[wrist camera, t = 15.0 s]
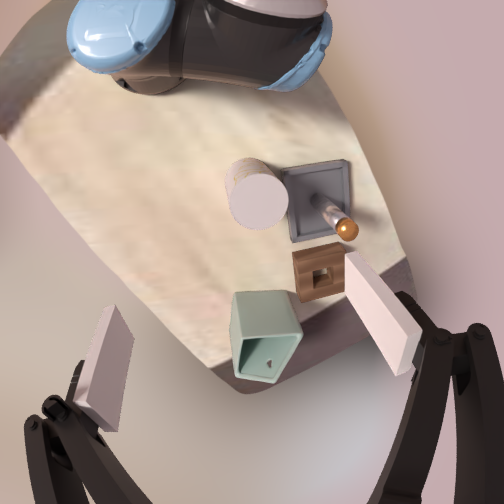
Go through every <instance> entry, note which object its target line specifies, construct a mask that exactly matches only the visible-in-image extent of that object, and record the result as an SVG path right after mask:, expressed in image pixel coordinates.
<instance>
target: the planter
mask: <svg viewBox="0 0 504 504" xmlns="http://www.w3.org/2000/svg"><path fill="white" fill-rule="evenodd" d="M229 333H230V341H231V349H232V358H233V366H234V373H235V376H236V377H237V378H243V379H249V380H256V381H263V382H268V383H275V382H276V381H277V380H278V378H279V376H280V375H281V373H282V371H283V369H284V368H285V366H286V364H287V363H288V361H289V360H290V358H291V356H292V355H293V353H294V351H295V349H296V348H297V346H298V344H299V342H300V341H301V339H302V337H303V331H302V328H301V325H300V323H299V320H298V318H297V315H296V313H295V310H294V308H293V305H292V303H291V300H290V298H289V295H288V293H287V291H286V290H274V291H246V292H235V293H234V296H233V301H232V307H231V319H230V327H229ZM269 360H272V367H271V368H270V367H269V365H267V363H268V361H269Z"/></svg>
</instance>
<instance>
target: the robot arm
mask: <svg viewBox="0 0 504 504" xmlns="http://www.w3.org/2000/svg"><path fill="white" fill-rule="evenodd" d="M327 6H328V4H327V0H80V1H79V2H78V4H77V5H76V7H75V9H74V10H73V12H72V15H71V17H70V20H69V23H68V27H67V44H68V48H69V51H70V53H71V55H72V56H73V57H74V59H75V60H76V61H77V62H78V63H79V64H81V65H82V66H84V67H86V68H88V69H89V70H91V71H93V72H94V73H99V74H109V75H111V76H112V78H113V79H114V80H115V82H116V83H117V84H119V85H120V86H121V87H122V88H124V89H126V90H128V91H130V92H133V93H138V94H146V95H150V94H158V93H162V92H165V91H168V90H170V89H172V88H174V87H176V86H177V85H179V84H180V83H182V82H183V81H184V80H185V79H186V78H190V79H199V80H207V81H214V82H221V83H228V84H234V85H240V86H245V87H251V88H254V89H258V90H266V89H267V90H274V91H280V92H289V91H293V90H295V89H298V88H299V87H301V86H302V85H304V84H305V83H306V82H307V81H308V80H309V79H310V78H311V77H312V75H313V74H314V73H315V71H316V70H317V69H318V67H319V66H320V64H321V62H322V60H323V58H324V56H325V53H324V50H325V49H326V47H327V46H328V45H329V43H330V40H331V36H332V20H331V17H330V15H329V14H328V13H327V12H326V8H327ZM345 294H346V296H347V297H348V299H349V300H350V302H351V304H352V305H353V307H354V308H355V310H356V311H357V313H358V315H359V316H360V318H361V319H362V321H363V323H364V324H365V326H366V328H367V329H368V331H369V332H370V334H371V336H372V337H373V339H374V340H375V342H376V344H377V346H378V347H379V349H380V351H381V352H382V354H383V356H384V357H385V359H386V361H387V362H388V364H389V366H390V368H391V369H392V371H393V373H394V374H395V376H398V375H400V374H402V373H405V372H407V371H409V370H410V367H411V364H412V363H413V365H414V366H415V368H416V370H415V373H414V375H413V377H412V380H411V381H412V385H411V389H410V393H409V396H408V400H407V403H406V406H405V410H404V414H403V416H402V420H401V423H400V426H399V429H398V432H397V434H396V438H395V440H394V443H393V446H392V449H391V451H390V454H389V456H388V459H387V461H386V464H385V466H384V468H383V471H382V473H381V476H380V478H379V480H378V482H377V484H376V487H375V489H374V491H373V493H372V495H371V497H370V499H369V501H368V503H367V504H421V501H422V499H421V493H422V490H423V487H424V484H425V482H426V479H427V476H428V473H429V470H430V467H431V464H432V460H433V457H434V453H435V450H436V446H437V442H438V439H439V435H440V430H441V426H442V422H443V417H444V413H445V407H446V402H447V396H448V390H449V384H450V377H451V376H452V381H453V389H454V400H455V411H456V412H455V413H456V433H457V463H456V483H455V496H454V504H504V380H503V376H502V371H501V367H500V363H499V359H498V355H497V352H496V348H495V345H494V341H493V338H492V335H491V332H490V330H489V329H488V327H486V326H485V325H483V324H481V323H474V324H472V325H470V326H469V328H468V330H467V332H464V333H457V334H451V333H450V332H449V331H448V330H446V329H442V328H437V327H436V326H435V324H434V323H433V322H432V320H431V319H430V318H429V317H428V316H427V314H426V313H425V312H424V311H423V310H422V309H421V307H420V306H419V305H418V304H416V301H415V300H414V299H413V298H412V297H411V296H410V295H409V294H407V293H405V292H403V291H400V292H397V293H393V292H392V291H391V290H390V289H389V287H388V286H387V285H386V284H385V283H384V281H383V280H382V279H381V278H380V277H379V275H378V274H377V273H376V272H375V271H374V270H373V268H372V267H371V266H370V265H369V264H368V263H367V262H366V260H365V259H364V258H363V257H362V256H361V255H360V254H359V253H358V251H354V252H350V253H346V254H345ZM133 343H134V337H133V335H132V333H131V332H130V330H129V328H128V326H127V325H126V323H125V321H124V319H123V318H122V316H121V314H120V312H119V310H118V309H117V307H116V305H112V306H107V307H104V310H103V312H102V315H101V317H100V320H99V323H98V325H97V328H96V331H95V334H94V337H93V339H92V342H91V345H90V347H89V350H88V353H87V356H86V359H85V360H81V361H80V362H79V364H78V365H77V366H76V368H75V371H74V374H73V377H72V380H71V383H70V387H69V390H68V393H67V396H66V400H65V401H64V400H63V399H62V398H61V397H60V396H58V395H51V396H49V397H48V398H47V399H46V400H45V401H44V403H43V405H42V413H43V414H44V415H45V416H46V417H48V418H46V419H42V418H40V417H39V416H38V415H31V416H30V417H28V418H27V420H26V422H25V424H24V435H25V446H26V454H27V462H28V468H29V475H30V480H31V486H32V490H33V495H34V500H35V504H89V501H88V498H87V496H86V492H85V490H84V486H83V484H84V485H85V487H86V489H87V490H88V492H89V494H90V495H91V497H92V499H93V500H94V502H95V503H96V504H152V502H151V501H150V500H149V499H148V498H147V497H146V495H145V494H144V493H143V492H142V491H141V489H140V488H139V487H138V486H137V485H136V483H135V482H134V481H133V480H132V478H131V477H130V476H129V474H128V473H127V472H126V470H125V469H124V468H123V466H122V465H121V464H120V462H119V461H118V460H117V458H116V457H115V455H114V454H113V452H112V451H111V450H110V448H109V447H108V445H107V444H106V442H105V441H104V439H103V437H102V436H101V435H100V434H99V433H98V427H100V428H102V429H103V430H104V431H105V432H118V426H119V419H120V413H121V406H122V400H123V394H124V389H125V383H126V377H127V372H128V367H129V362H130V357H131V353H132V348H133ZM82 482H83V483H82Z"/></svg>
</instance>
